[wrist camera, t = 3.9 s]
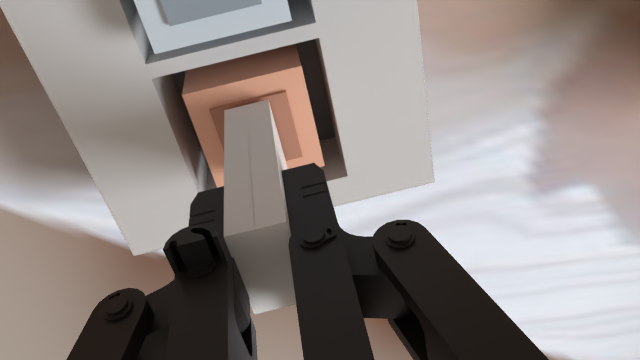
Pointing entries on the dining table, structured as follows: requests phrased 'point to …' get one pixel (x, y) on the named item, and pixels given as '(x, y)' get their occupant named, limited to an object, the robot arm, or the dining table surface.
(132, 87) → the keypad
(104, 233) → the dining table surface
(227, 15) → the key mid
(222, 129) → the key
